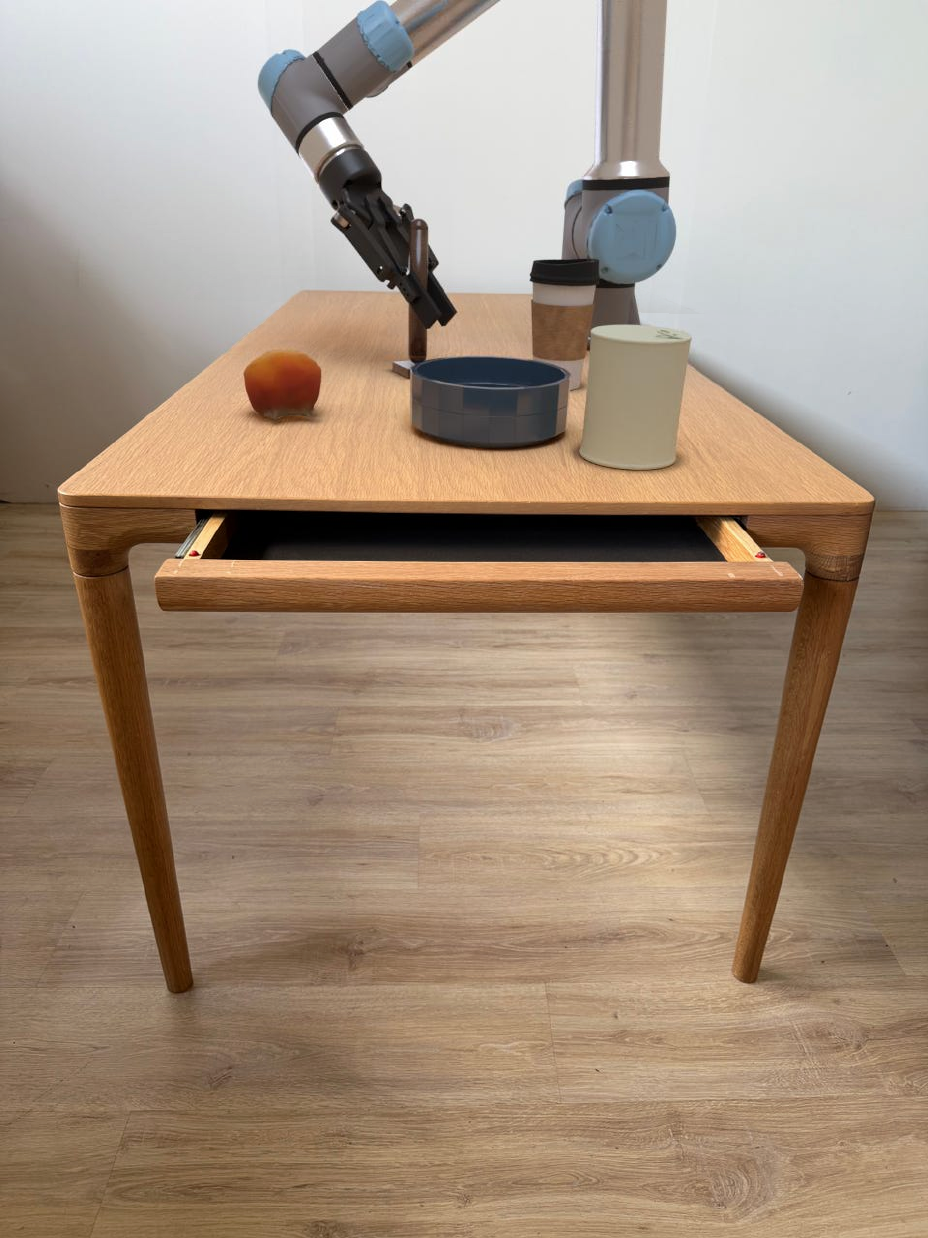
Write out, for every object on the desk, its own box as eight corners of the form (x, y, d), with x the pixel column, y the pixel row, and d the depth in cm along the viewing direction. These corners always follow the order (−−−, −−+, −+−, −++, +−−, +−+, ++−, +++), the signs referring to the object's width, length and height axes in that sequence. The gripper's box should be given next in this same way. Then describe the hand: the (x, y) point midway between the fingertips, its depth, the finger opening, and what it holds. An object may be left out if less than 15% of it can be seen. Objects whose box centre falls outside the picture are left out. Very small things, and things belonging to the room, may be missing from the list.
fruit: (264, 417, 91) (247, 339, 92) (248, 440, 99) (233, 368, 99) (340, 410, 95) (324, 335, 95) (320, 433, 102) (305, 363, 102)
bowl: (547, 410, 104) (551, 356, 101) (582, 450, 90) (588, 388, 87) (405, 410, 102) (405, 355, 99) (417, 451, 88) (418, 388, 85)
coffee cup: (587, 395, 112) (599, 263, 105) (518, 389, 113) (525, 259, 106) (592, 381, 119) (604, 257, 112) (527, 376, 120) (535, 253, 114)
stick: (426, 368, 123) (428, 217, 115) (443, 375, 119) (446, 219, 111) (392, 370, 121) (391, 216, 113) (407, 378, 117) (408, 219, 109)
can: (654, 476, 83) (672, 339, 78) (562, 458, 87) (573, 327, 82) (689, 453, 90) (707, 326, 85) (602, 437, 94) (615, 315, 89)
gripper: (368, 190, 124) (462, 332, 123) (283, 190, 113) (384, 347, 112) (398, 146, 119) (496, 295, 118) (311, 142, 108) (418, 306, 107)
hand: (441, 320), depth 115 cm, fingers closed on stick, 2 cm apart
